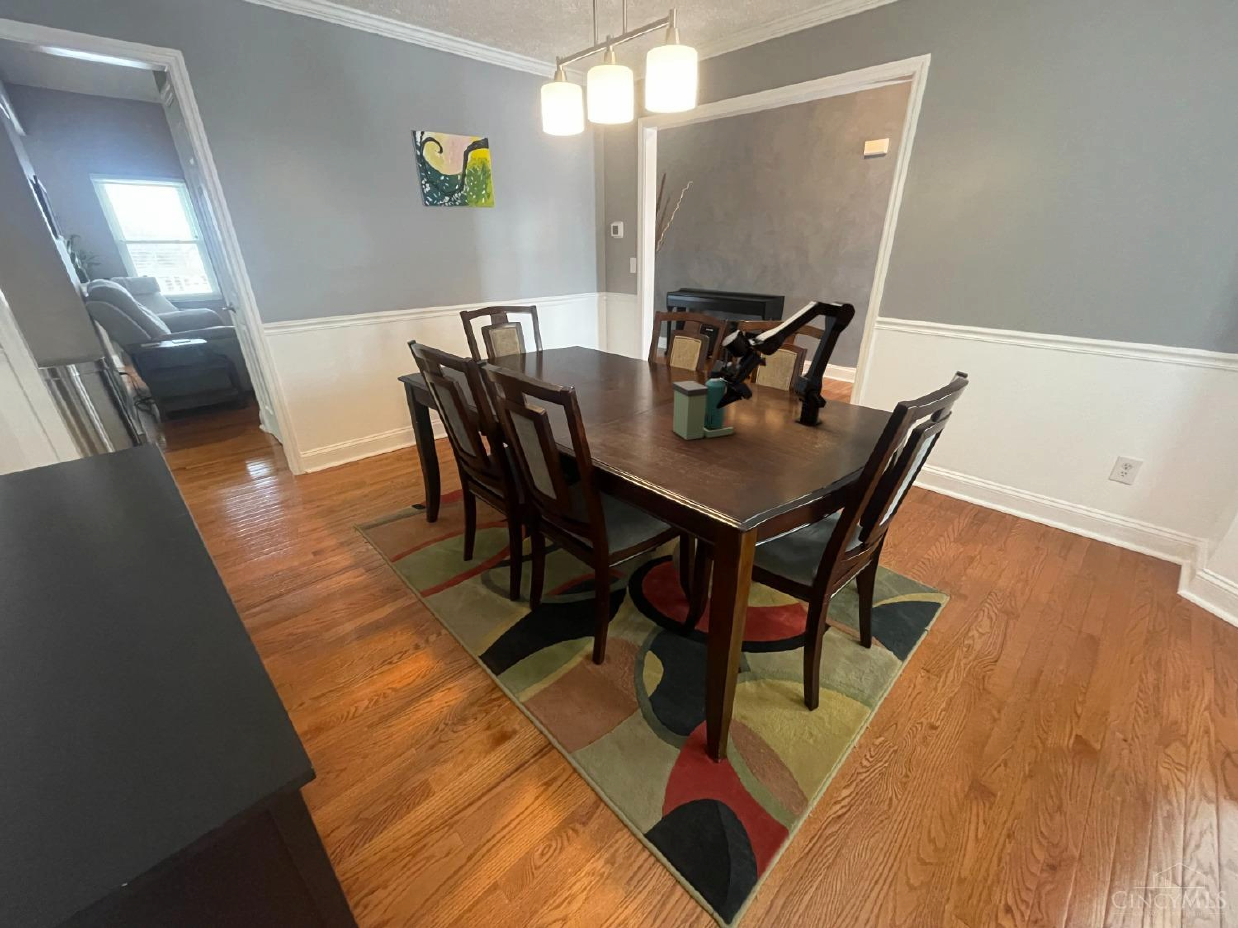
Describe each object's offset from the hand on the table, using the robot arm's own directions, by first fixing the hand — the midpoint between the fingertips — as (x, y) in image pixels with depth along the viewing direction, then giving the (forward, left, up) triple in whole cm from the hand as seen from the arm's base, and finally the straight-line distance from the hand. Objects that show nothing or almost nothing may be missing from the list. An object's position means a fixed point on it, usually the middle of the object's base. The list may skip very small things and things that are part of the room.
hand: (711, 405), depth 156 cm
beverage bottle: (-2, 0, -9) cm, 9 cm away
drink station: (+3, -1, -9) cm, 9 cm away
